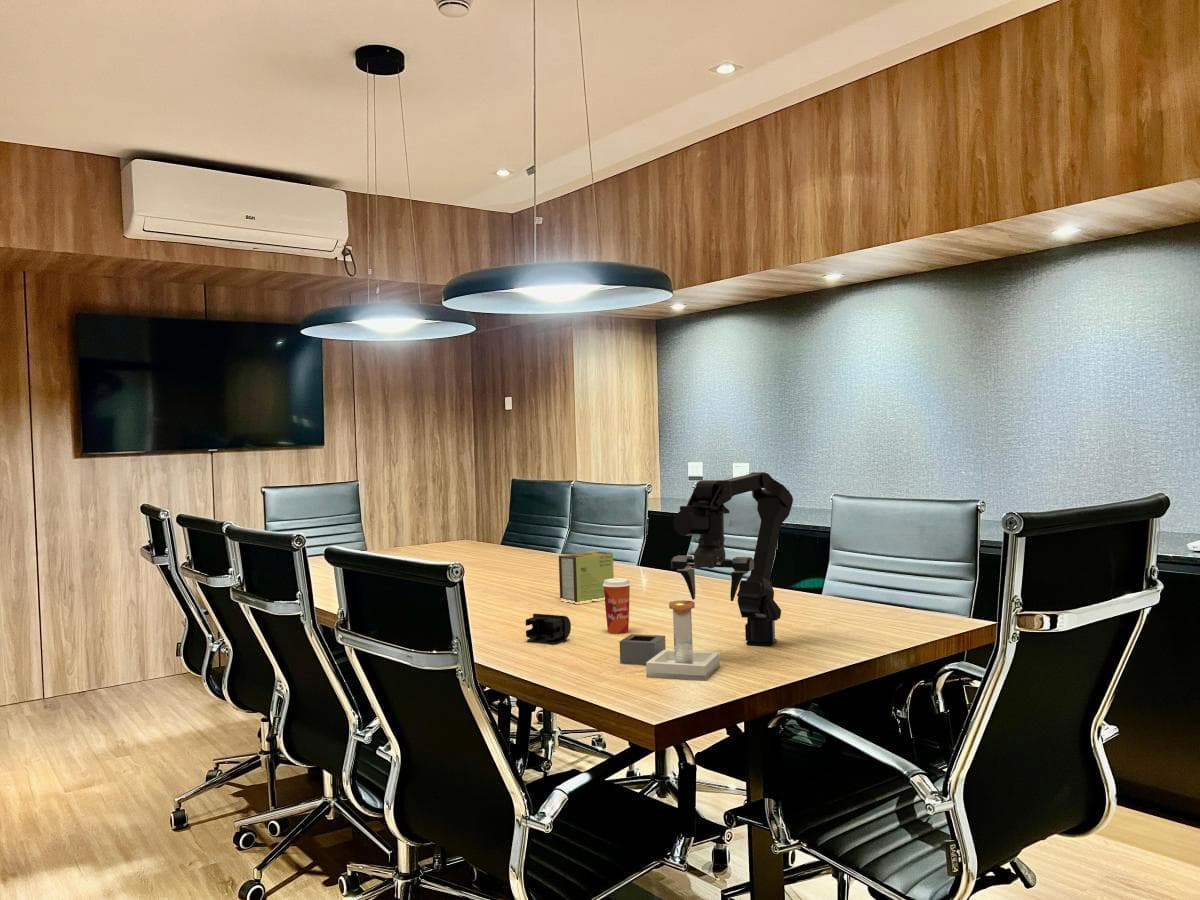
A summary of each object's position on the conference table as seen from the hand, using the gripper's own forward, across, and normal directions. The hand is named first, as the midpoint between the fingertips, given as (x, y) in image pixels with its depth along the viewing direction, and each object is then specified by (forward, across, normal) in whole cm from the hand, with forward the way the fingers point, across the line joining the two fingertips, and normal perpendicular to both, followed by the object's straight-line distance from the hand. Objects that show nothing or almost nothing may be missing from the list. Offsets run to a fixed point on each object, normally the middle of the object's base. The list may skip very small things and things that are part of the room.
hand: (712, 600), depth 207 cm
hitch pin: (+12, -3, -15) cm, 20 cm away
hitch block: (+13, -15, -8) cm, 21 cm away
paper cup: (+13, -32, +22) cm, 41 cm away
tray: (+14, -3, -16) cm, 21 cm away
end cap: (+14, -46, +8) cm, 48 cm away
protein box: (+12, -60, +70) cm, 93 cm away
